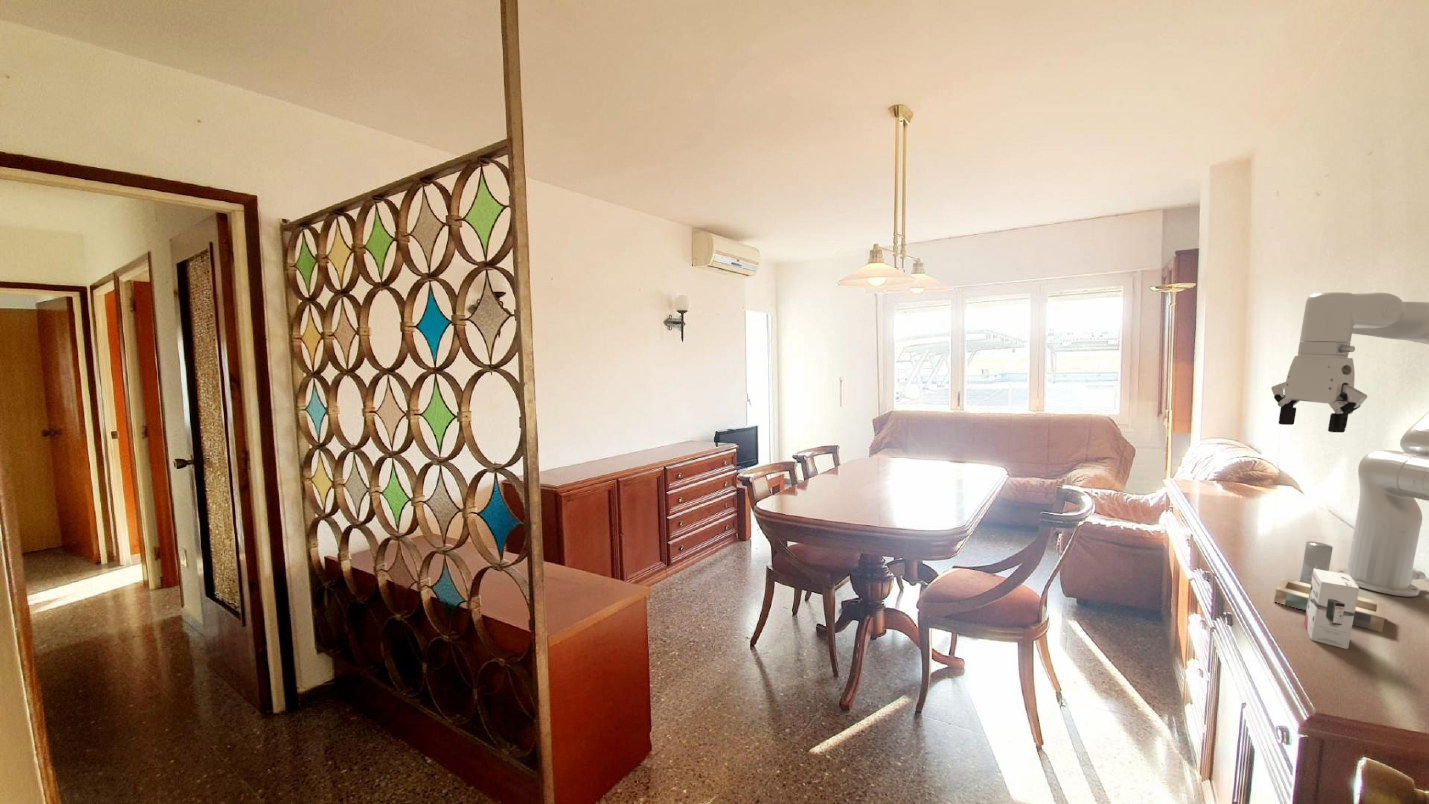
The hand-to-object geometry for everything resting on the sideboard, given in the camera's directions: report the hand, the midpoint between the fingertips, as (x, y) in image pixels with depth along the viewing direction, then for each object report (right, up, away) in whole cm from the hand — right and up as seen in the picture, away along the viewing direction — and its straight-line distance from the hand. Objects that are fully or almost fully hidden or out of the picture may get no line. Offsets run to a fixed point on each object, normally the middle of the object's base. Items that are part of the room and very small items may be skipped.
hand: (1310, 428), depth 124 cm
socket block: (-3, -38, -7) cm, 38 cm away
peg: (+3, -37, +2) cm, 37 cm away
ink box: (-16, -39, -17) cm, 45 cm away
